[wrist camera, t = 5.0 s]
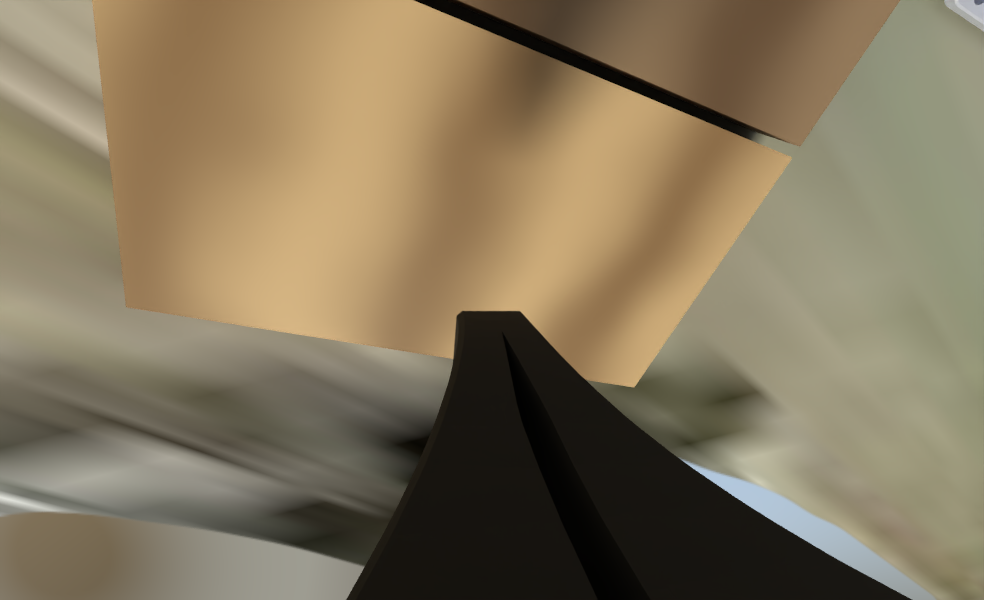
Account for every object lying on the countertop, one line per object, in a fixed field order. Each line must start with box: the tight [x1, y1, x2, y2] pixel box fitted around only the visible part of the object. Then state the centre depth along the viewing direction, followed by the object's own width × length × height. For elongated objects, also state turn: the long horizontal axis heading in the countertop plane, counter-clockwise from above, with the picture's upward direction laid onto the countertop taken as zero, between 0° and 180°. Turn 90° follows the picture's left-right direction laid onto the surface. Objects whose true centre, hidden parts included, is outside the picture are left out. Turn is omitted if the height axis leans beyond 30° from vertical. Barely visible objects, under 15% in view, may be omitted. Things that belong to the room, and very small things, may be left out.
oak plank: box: [92, 0, 792, 387], centre depth 14 cm, size 18×10×2 cm, turn 70°
